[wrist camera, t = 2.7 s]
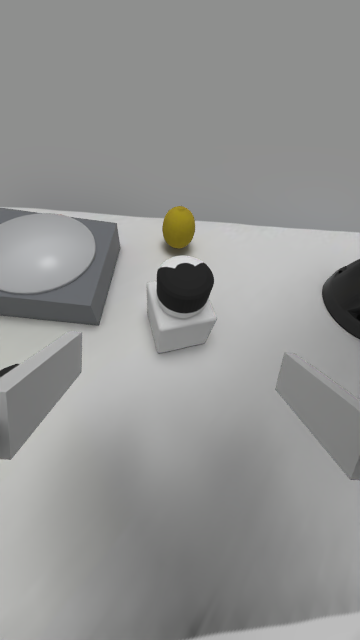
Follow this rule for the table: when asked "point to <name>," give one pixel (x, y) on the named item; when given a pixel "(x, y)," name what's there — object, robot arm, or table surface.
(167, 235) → the lemon
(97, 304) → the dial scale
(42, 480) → the table surface
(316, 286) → the table surface
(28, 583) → the table surface
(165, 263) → the medicine bottle
